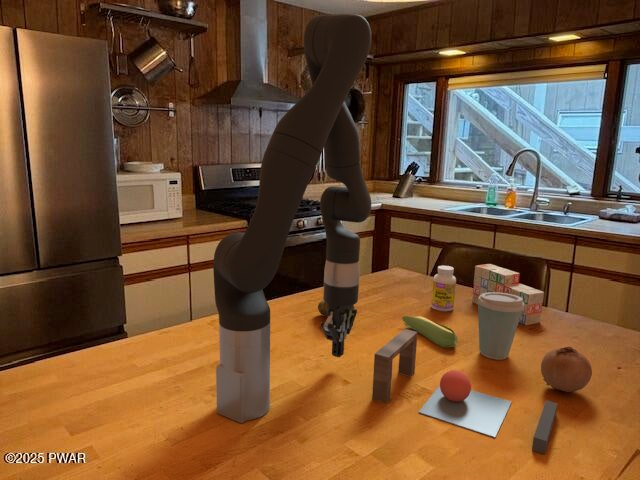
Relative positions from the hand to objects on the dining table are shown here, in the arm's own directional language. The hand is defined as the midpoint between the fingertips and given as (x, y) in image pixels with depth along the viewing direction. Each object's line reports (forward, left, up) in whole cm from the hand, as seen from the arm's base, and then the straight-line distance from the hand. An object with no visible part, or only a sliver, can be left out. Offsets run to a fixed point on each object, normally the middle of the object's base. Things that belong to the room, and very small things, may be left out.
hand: (337, 355), depth 109 cm
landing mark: (0, -29, -3) cm, 29 cm away
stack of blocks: (+61, -23, -4) cm, 65 cm away
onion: (+18, -44, -3) cm, 47 cm away
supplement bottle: (+52, -7, -3) cm, 53 cm away
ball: (+2, -26, 0) cm, 26 cm away
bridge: (0, -14, -3) cm, 14 cm away
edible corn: (+30, -10, -4) cm, 32 cm away
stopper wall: (0, -43, -3) cm, 43 cm away
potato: (+24, +14, -3) cm, 28 cm away
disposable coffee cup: (+28, -28, -3) cm, 40 cm away
